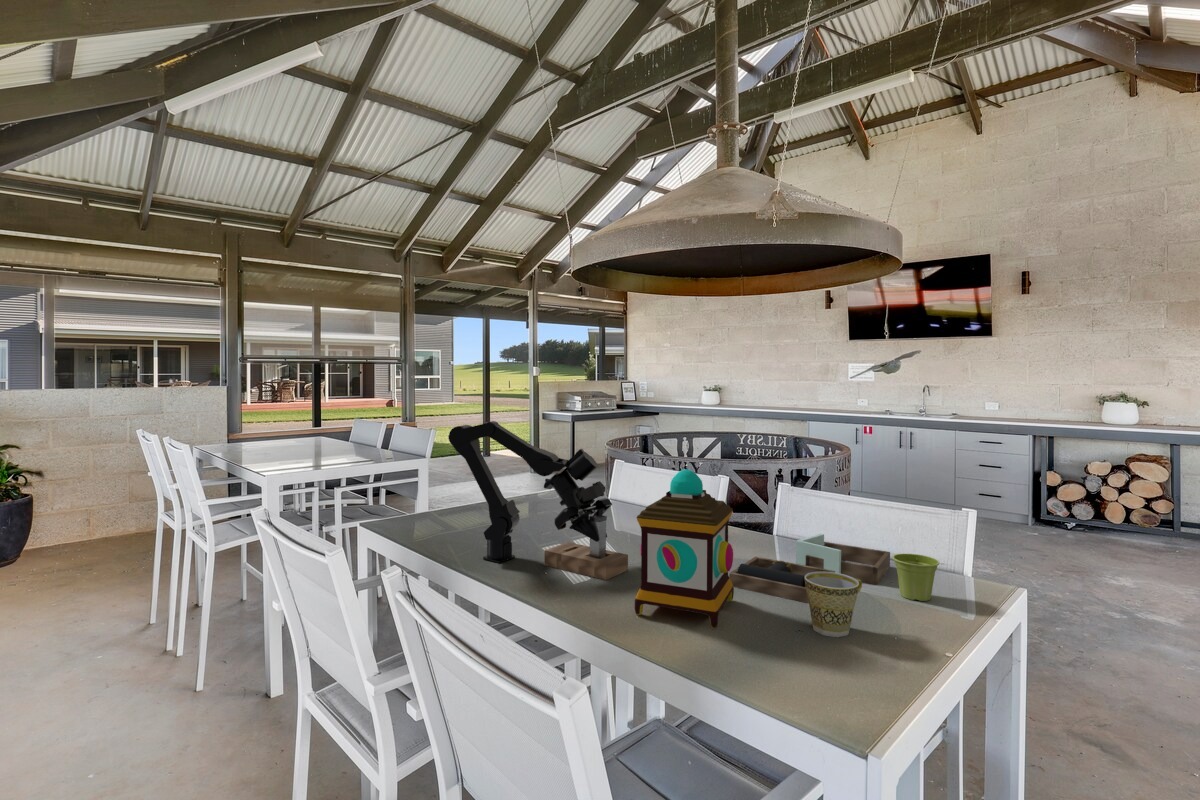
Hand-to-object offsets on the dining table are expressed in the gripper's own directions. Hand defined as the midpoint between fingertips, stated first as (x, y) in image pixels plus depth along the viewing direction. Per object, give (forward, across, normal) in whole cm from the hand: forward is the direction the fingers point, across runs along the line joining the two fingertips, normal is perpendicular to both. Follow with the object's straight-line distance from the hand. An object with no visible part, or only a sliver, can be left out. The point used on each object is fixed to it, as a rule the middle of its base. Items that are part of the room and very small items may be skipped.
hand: (602, 539), depth 148 cm
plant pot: (+54, +28, -42) cm, 74 cm away
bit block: (+2, 0, +10) cm, 10 cm away
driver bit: (+4, 0, +6) cm, 7 cm away
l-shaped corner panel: (+39, +38, -27) cm, 61 cm away
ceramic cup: (+47, -1, -35) cm, 58 cm away
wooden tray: (+34, +18, -23) cm, 45 cm away
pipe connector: (+34, +16, -22) cm, 44 cm away
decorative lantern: (+26, -9, -14) cm, 31 cm away
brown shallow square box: (+42, +40, -30) cm, 65 cm away
